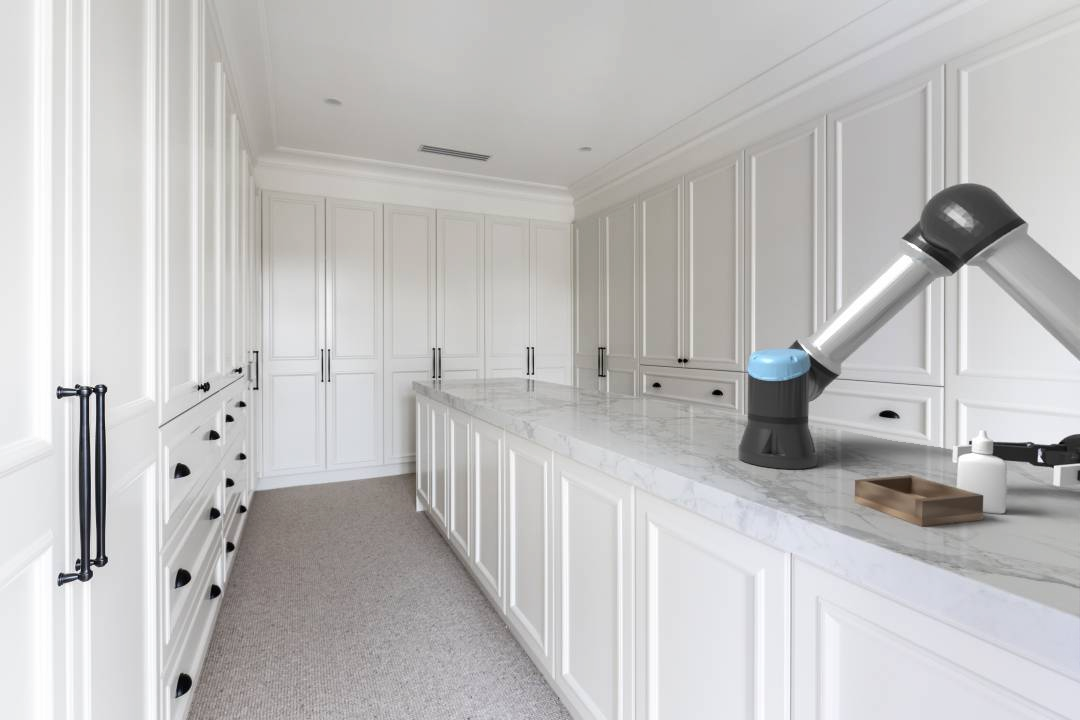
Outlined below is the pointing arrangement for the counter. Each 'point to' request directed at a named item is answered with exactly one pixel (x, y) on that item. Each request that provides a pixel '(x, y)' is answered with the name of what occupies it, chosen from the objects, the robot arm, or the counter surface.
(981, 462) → the eye dropper bottle
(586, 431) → the counter surface
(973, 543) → the counter surface
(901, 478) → the walnut socket block
